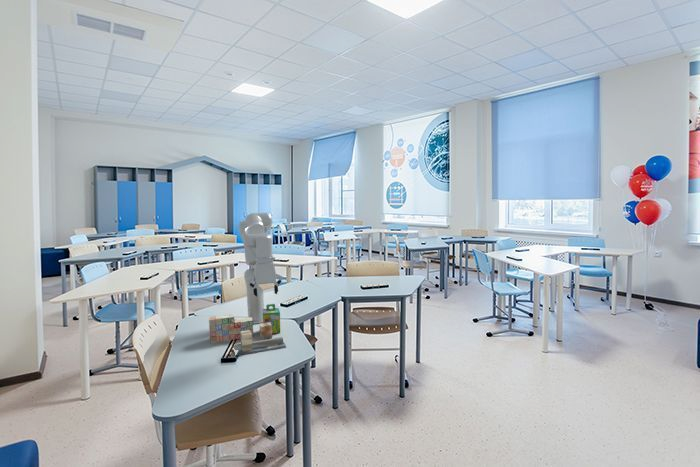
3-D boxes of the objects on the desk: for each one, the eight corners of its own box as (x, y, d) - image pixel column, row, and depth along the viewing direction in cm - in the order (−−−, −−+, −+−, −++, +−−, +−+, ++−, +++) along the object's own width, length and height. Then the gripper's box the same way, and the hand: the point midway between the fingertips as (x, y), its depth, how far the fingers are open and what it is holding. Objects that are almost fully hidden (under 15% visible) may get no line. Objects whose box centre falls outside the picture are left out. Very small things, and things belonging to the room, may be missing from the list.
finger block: (261, 342, 190) (261, 326, 189) (260, 338, 194) (259, 323, 194) (272, 340, 192) (271, 325, 191) (270, 337, 196) (270, 322, 196)
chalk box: (263, 335, 200) (262, 307, 198) (263, 329, 209) (261, 303, 207) (281, 333, 202) (279, 306, 201) (279, 327, 211) (278, 301, 210)
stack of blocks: (253, 333, 203) (251, 311, 201) (253, 337, 197) (252, 314, 195) (210, 338, 197) (209, 315, 195) (210, 343, 191) (208, 319, 189)
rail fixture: (232, 349, 182) (231, 331, 181) (281, 340, 191) (281, 324, 190) (234, 356, 174) (233, 337, 173) (285, 347, 183) (285, 329, 182)
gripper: (280, 258, 190) (281, 291, 192) (245, 261, 184) (247, 295, 186) (283, 260, 184) (285, 294, 185) (247, 263, 177) (249, 298, 179)
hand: (266, 294), depth 185 cm, fingers open, 9 cm apart
